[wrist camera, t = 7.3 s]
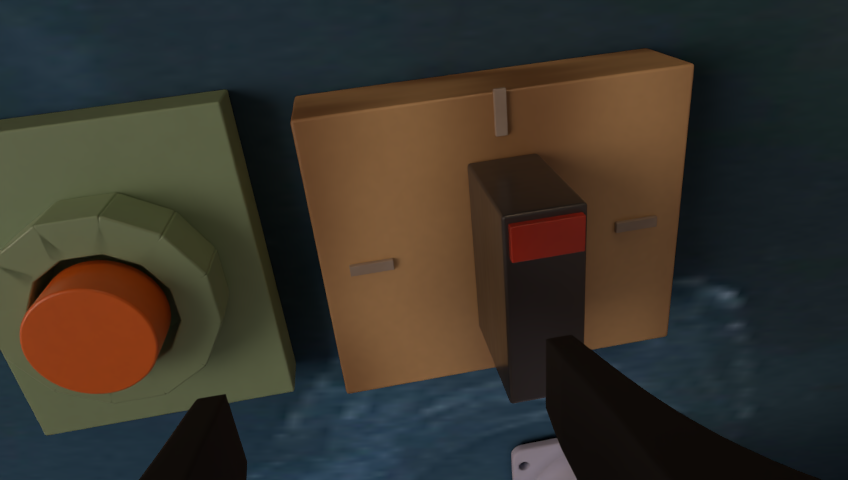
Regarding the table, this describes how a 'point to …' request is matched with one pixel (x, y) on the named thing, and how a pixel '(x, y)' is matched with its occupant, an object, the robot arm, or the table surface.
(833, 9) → the table surface
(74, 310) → the button
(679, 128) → the control panel
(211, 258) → the button box
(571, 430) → the robot arm
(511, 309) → the red-striped dark box
